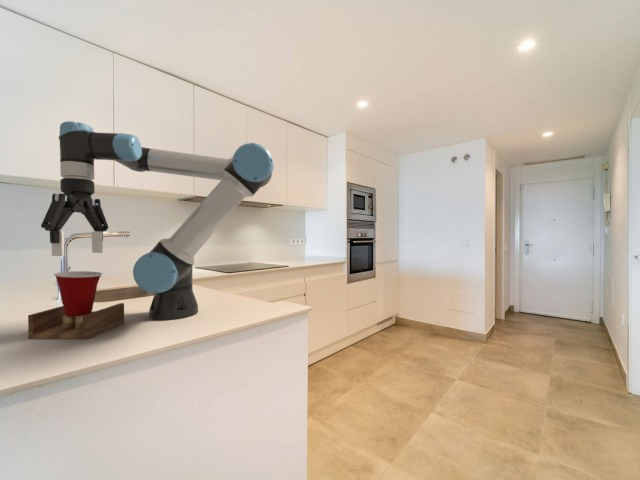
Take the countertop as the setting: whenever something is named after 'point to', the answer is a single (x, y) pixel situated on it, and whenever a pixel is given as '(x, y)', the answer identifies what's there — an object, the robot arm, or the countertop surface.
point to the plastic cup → (77, 291)
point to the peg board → (90, 323)
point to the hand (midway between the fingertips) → (79, 254)
